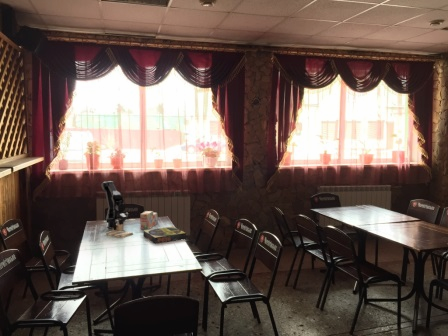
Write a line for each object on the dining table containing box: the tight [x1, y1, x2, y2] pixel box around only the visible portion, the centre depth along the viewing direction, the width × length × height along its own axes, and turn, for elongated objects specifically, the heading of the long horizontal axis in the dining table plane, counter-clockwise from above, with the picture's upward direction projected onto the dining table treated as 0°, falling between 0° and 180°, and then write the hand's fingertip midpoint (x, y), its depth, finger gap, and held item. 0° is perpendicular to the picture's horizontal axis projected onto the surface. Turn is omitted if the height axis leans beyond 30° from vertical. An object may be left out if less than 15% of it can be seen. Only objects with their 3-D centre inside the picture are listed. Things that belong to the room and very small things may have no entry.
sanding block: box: [112, 223, 124, 231], centre depth 320 cm, size 7×4×5 cm, turn 60°
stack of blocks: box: [139, 210, 159, 230], centre depth 335 cm, size 21×6×12 cm, turn 167°
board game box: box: [142, 225, 187, 245], centre depth 297 cm, size 24×24×5 cm
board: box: [105, 230, 134, 239], centre depth 307 cm, size 18×10×2 cm, turn 60°
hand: (117, 229), depth 320 cm, fingers open, 6 cm apart
